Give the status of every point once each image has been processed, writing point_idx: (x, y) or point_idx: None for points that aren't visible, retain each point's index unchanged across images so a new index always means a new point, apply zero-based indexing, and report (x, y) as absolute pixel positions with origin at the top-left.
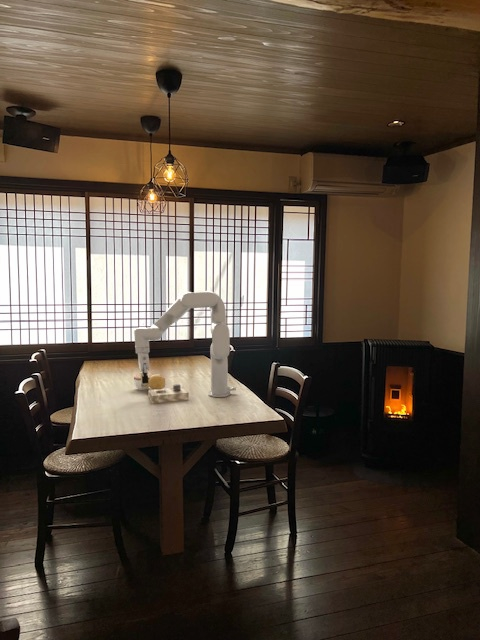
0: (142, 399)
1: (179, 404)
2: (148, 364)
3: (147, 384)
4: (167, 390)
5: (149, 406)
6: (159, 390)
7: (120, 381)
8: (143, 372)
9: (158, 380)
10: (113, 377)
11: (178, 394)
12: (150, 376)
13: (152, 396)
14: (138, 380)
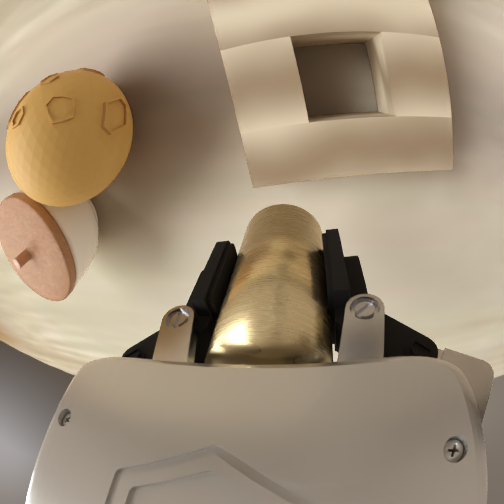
0: (316, 211)
1: (474, 9)
2: (483, 495)
3: (312, 223)
4: (298, 13)
5: (477, 182)
6: (285, 83)
7: (26, 295)
8: None
9: (89, 116)
10: (9, 306)
11: None
12: (19, 204)
13: (451, 165)
14: (77, 272)
